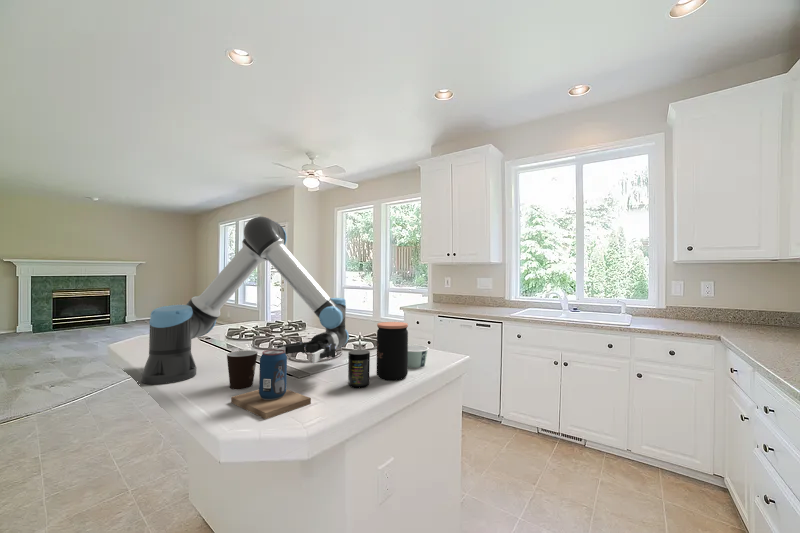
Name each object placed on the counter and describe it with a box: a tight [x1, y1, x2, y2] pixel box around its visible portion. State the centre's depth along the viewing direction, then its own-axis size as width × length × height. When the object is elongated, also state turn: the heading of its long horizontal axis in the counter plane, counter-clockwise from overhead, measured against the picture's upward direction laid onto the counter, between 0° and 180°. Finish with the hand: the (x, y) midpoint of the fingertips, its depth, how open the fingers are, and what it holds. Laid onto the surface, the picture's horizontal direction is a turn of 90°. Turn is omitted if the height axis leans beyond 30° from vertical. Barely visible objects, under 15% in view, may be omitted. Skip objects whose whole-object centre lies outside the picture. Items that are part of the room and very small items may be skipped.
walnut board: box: [230, 388, 312, 420], centre depth 91 cm, size 17×13×2 cm
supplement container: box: [347, 349, 371, 390], centre depth 106 cm, size 7×7×10 cm
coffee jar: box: [376, 321, 409, 382], centre depth 116 cm, size 11×11×18 cm
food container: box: [408, 344, 430, 369], centre depth 133 cm, size 12×12×6 cm
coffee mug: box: [226, 349, 258, 390], centre depth 106 cm, size 12×9×10 cm
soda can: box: [258, 348, 288, 400], centre depth 92 cm, size 7×7×12 cm
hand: (292, 356), depth 101 cm, fingers open, 13 cm apart
